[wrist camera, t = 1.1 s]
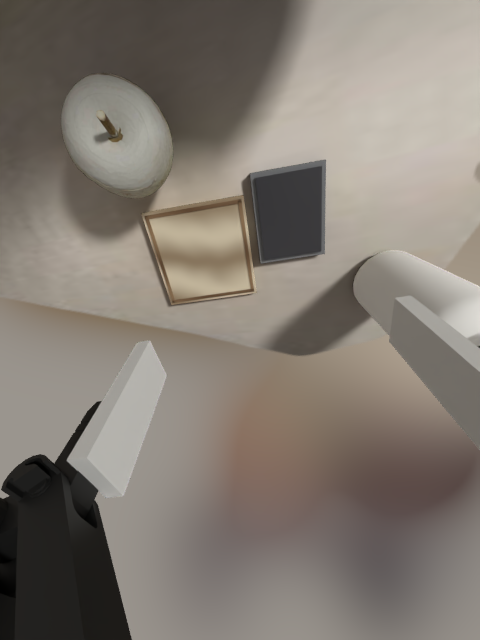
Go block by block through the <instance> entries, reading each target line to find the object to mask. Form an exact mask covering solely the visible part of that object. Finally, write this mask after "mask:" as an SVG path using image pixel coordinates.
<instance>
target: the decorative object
mask: <svg viewBox="0 0 480 640" xmlns="http://www.w3.org/2000/svg"><path fill="white" fill-rule="evenodd" d="M61 129H62V135H63V140H64V143H65V146H66V149H67V151H68V153H69V155H70V157H71V158H72V161H73V162H74V163H75V165H76V166H77V168H78V169H79V170H80V171H81V172H83V174H85V175H86V176H87V177H88V178H89V179H90V180H92V181H94V182H95V183H97V184H98V185H99V186H101V187H102V188H104V189H106V190H108V191H110V192H112V193H115V194H118V195H119V196H122V197H126V198H143V197H146V196H149V195H151V194H152V193H154V192H155V191H157V190H158V189H159V188H160V187H161V186H162V185H163V183H164V182H165V180H166V179H167V177H168V175H169V172H170V170H171V166H172V160H173V142H172V137H171V133H170V129H169V126H168V124H167V122H166V120H165V118H164V116H163V114H162V112H161V111H160V109H159V107H158V106H157V105H156V103H155V102H154V101H153V100H152V99H151V97H150V96H149V95H148V94H147V93H145V92H144V91H143V90H142V89H141V88H140V87H138V86H137V85H135V84H133V83H132V82H130V81H128V80H127V79H124V78H122V77H120V76H117V75H114V74H108V73H95V74H90V75H88V76H86V77H84V78H83V79H82V80H80V81H79V82H77V83H76V84H75V85H74V87H73V88H72V89H71V91H70V92H69V93H68V95H67V97H66V99H65V102H64V105H63V108H62V113H61Z"/></svg>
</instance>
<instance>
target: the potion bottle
mask: <svg viewBox="0 0 480 640" xmlns="http://www.w3.org/2000/svg"><path fill="white" fill-rule="evenodd" d="M353 291H354V295H355V297H356V299H357V301H358V302H359V303H360V304H361V306H362V307H363V308H364V309H365V310H366V311H367V312H368V313H369V314H370V315H371V316H372V318H373V319H374V320H375V321H376V322H377V323H378V324H379V325H380V326H381V327H382V328H383V330H384V331H385V332H386V333H387V334H388V335H389V336H390V331H391V323H392V315H393V307H394V300H395V298H398V297H404V296H410V295H411V296H412V297H414V298H415V299H416V300H418V301H419V302H420V303H422V304H423V305H424V306H425V307H427V308H428V309H429V310H431V311H432V312H433V313H435V314H436V315H437V316H438V317H440V318H441V319H442V320H444V321H445V322H446V323H448V324H449V325H450V326H451V327H453V328H454V329H455V330H457V331H458V332H459V333H461V334H462V335H463V336H464V337H466V338H467V339H468V340H470V341H471V342H472V343H473V344H475V345H476V346H480V286H477V285H475V284H473V283H471V282H469V281H467V280H464V279H462V278H460V277H458V276H456V275H454V274H452V273H449V272H448V271H445V270H443V269H441V268H439V267H437V266H435V265H433V264H430V263H428V262H426V261H424V260H422V259H420V258H418V257H416V256H413V255H411V254H409V253H406V252H404V251H401V250H388V251H385V252H381V253H378V254H376V255H375V256H373V257H371V258H370V259H368V260H367V261H366V262H365V263H364V264H363V265H362V266H361V267H360V269H359V270H358V272H357V274H356V276H355V279H354V283H353Z"/></svg>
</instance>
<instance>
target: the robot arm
mask: <svg viewBox="0 0 480 640" xmlns="http://www.w3.org/2000/svg"><path fill="white" fill-rule="evenodd" d="M389 342H390V343H391V344H392V345H393V347H394V348H395V349H396V350H397V351H398V353H399V354H400V355H401V356H402V357H403V359H404V360H405V361H406V362H407V363H408V365H409V366H410V367H411V368H412V369H413V371H414V372H415V373H416V374H417V375H418V377H419V378H420V379H421V380H422V381H423V383H424V384H425V385H426V386H427V387H428V389H429V390H430V391H431V392H432V393H433V395H434V396H435V397H436V398H437V399H438V401H439V402H440V403H441V404H442V406H443V407H444V408H445V409H446V410H447V412H448V413H449V414H450V415H451V416H452V418H453V419H454V420H455V421H456V422H457V423H458V425H459V426H460V427H461V428H462V430H463V431H464V432H465V433H466V434H467V436H468V437H469V438H470V439H471V440H472V442H473V443H474V444H475V445H476V446H477V448H478V449H479V450H480V346H476V345H475V344H473V343H472V342H471V341H470V340H468V339H467V338H466V337H464V336H463V335H462V334H461V333H459V332H458V331H457V330H455V329H454V328H453V327H451V326H450V325H449V324H448V323H446V322H445V321H444V320H442V319H441V318H440V317H438V316H437V315H436V314H435V313H433V312H432V311H431V310H429V309H428V308H427V307H425V306H424V305H423V304H422V303H420V302H419V301H418V300H416V299H415V298H414V297H412V296H411V295H410V296H404V297H398V298H395V300H394V307H393V315H392V323H391V331H390V339H389ZM166 378H167V374H166V372H165V370H164V368H163V366H162V364H161V362H160V360H159V358H158V356H157V354H156V352H155V350H154V348H153V346H152V344H151V342H150V341H143V342H137V344H136V345H135V347H134V349H133V350H132V352H131V354H130V355H129V357H128V359H127V360H126V362H125V364H124V365H123V367H122V369H121V370H120V372H119V374H118V375H117V377H116V379H115V380H114V382H113V384H112V385H111V387H110V389H109V390H108V392H107V394H106V395H105V397H104V399H103V400H102V401H100V402H96V403H95V404H94V405H93V406H92V407H91V408H90V409H89V410H88V411H87V413H86V415H85V416H84V418H83V419H82V421H81V424H79V426H78V427H77V429H76V430H75V433H73V435H72V437H71V438H70V440H69V441H68V443H67V445H66V446H65V448H64V449H63V451H62V453H61V454H60V456H59V457H58V459H57V460H56V462H55V464H54V463H53V462H51V461H50V460H49V459H48V458H47V457H46V456H45V455H41V454H40V455H36V456H32V457H30V458H28V459H26V460H25V461H23V462H22V463H21V464H19V465H18V466H17V467H16V468H15V469H14V470H13V471H12V472H11V473H10V474H9V475H8V477H7V478H6V480H5V481H4V483H3V486H2V489H1V490H2V491H3V492H5V493H7V494H8V495H9V497H6V498H4V499H2V498H0V640H132V639H131V635H130V631H129V627H128V623H127V619H126V615H125V611H124V607H123V603H122V599H121V595H120V591H119V587H118V583H117V580H116V575H115V572H114V567H113V564H112V560H111V556H110V551H109V548H108V544H107V540H106V536H105V532H104V528H103V524H102V520H101V516H100V512H99V508H98V505H97V503H96V501H95V500H94V499H95V497H96V495H97V492H98V491H99V492H100V493H101V494H102V495H103V496H104V497H105V498H111V497H121V496H124V493H125V491H126V488H127V485H128V482H129V479H130V477H131V474H132V471H133V469H134V466H135V463H136V460H137V458H138V455H139V452H140V449H141V446H142V444H143V441H144V438H145V435H146V433H147V430H148V427H149V425H150V422H151V419H152V416H153V413H154V411H155V408H156V405H157V402H158V400H159V397H160V394H161V391H162V388H163V386H164V383H165V380H166Z"/></svg>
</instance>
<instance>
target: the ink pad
mask: <svg viewBox="0 0 480 640" xmlns="http://www.w3.org/2000/svg"><path fill="white" fill-rule="evenodd" d="M250 180H251V189H252V197H253V206H254V214H255V222H256V231H257V239H258V247H259V256H260V263H268V262H274V261H281V260H287V259H294V258H301V257H307V256H314V255H320V254H325V184H326V160H320V161H315V162H309V163H304V164H299V165H293V166H288V167H282V168H277V169H271V170H266V171H260V172H255V173H250Z"/></svg>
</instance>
